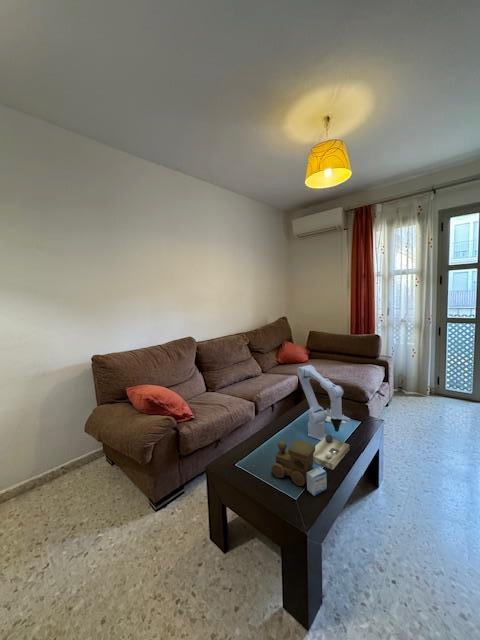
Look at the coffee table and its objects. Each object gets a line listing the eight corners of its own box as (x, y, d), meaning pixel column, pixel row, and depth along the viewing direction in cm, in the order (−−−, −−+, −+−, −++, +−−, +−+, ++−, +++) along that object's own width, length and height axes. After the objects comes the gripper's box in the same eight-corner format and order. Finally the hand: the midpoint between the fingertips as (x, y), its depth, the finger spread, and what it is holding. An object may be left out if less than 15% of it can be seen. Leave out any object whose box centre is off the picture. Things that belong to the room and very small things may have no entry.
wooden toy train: (317, 476, 123) (316, 443, 122) (308, 491, 114) (307, 456, 113) (280, 463, 135) (278, 432, 134) (269, 475, 126) (267, 443, 124)
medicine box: (313, 496, 111) (313, 477, 110) (306, 490, 115) (306, 471, 114) (327, 489, 115) (326, 471, 114) (319, 483, 119) (319, 465, 118)
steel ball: (330, 456, 138) (330, 450, 137) (332, 453, 140) (332, 448, 140) (336, 459, 136) (336, 453, 135) (338, 456, 138) (338, 450, 138)
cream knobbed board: (307, 459, 137) (307, 453, 136) (325, 441, 153) (325, 436, 152) (332, 470, 127) (332, 464, 127) (349, 449, 143) (349, 444, 143)
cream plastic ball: (324, 457, 132) (324, 452, 132) (326, 454, 135) (326, 449, 134) (330, 459, 130) (329, 454, 130) (332, 457, 133) (332, 451, 132)
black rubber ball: (324, 442, 147) (323, 435, 146) (327, 439, 150) (326, 432, 149) (330, 444, 144) (330, 437, 144) (333, 441, 147) (333, 434, 146)
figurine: (313, 417, 182) (314, 395, 180) (326, 409, 195) (327, 388, 192) (340, 428, 168) (342, 405, 166) (352, 419, 180) (354, 397, 178)
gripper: (320, 406, 146) (321, 429, 147) (346, 413, 136) (347, 438, 137) (326, 402, 151) (327, 424, 152) (351, 409, 141) (351, 432, 142)
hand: (336, 430), depth 145 cm, fingers closed
